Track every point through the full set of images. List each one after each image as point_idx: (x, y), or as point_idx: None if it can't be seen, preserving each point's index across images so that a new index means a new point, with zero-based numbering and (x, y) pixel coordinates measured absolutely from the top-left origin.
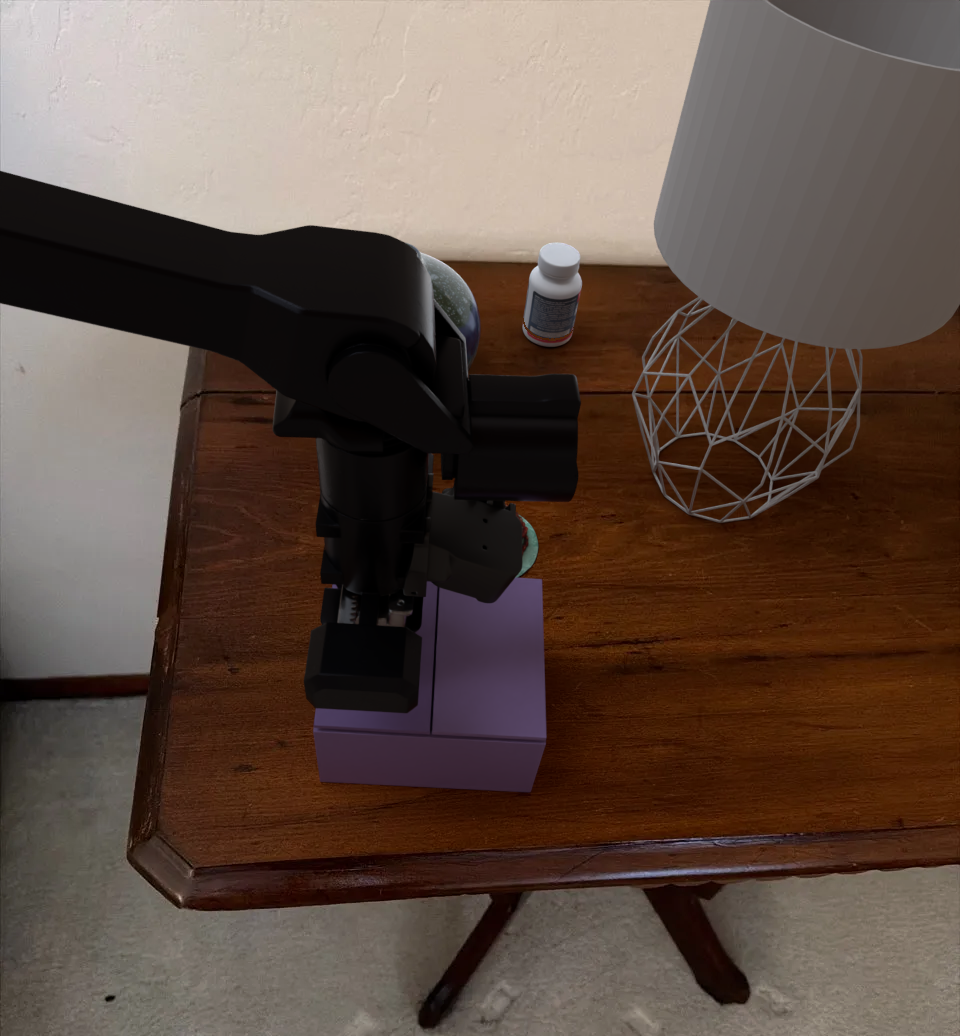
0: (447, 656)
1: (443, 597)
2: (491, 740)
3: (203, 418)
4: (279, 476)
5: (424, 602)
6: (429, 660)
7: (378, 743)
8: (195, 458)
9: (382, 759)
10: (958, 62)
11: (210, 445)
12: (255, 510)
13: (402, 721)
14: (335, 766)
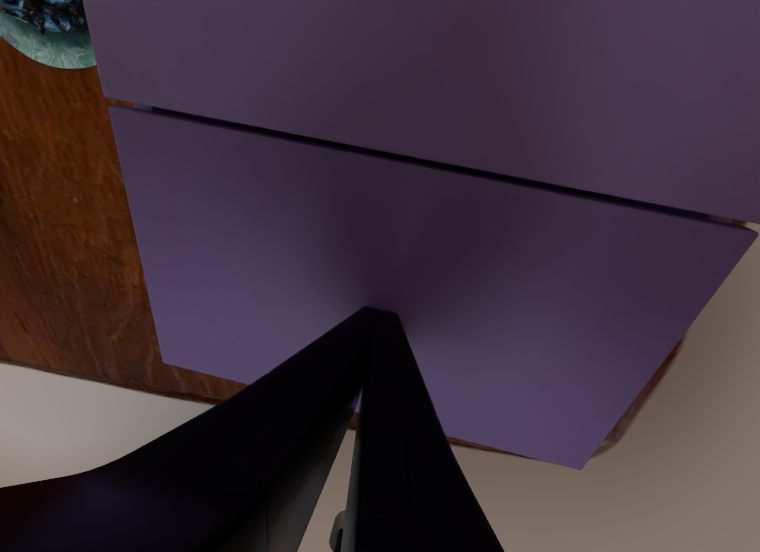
0: (457, 120)
1: (201, 99)
2: None
3: (5, 357)
4: (46, 294)
5: (231, 171)
6: (458, 188)
7: None
8: (62, 371)
9: None
10: None
11: (38, 356)
12: (108, 326)
13: (670, 307)
14: None
